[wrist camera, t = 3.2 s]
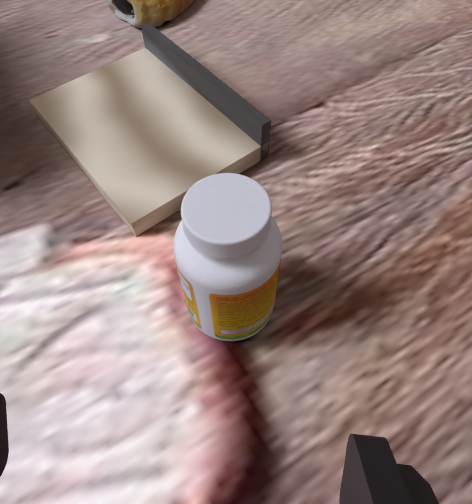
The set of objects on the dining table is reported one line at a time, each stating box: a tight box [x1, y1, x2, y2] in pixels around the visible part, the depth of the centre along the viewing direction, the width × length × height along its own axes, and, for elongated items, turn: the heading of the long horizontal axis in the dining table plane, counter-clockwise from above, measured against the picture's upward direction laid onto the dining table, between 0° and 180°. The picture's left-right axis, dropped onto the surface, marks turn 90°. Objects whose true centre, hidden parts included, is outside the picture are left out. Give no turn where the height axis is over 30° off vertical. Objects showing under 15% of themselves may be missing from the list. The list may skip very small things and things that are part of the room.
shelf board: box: [29, 23, 271, 236], centre depth 33 cm, size 12×16×4 cm
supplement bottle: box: [174, 173, 282, 341], centre depth 23 cm, size 5×5×10 cm
